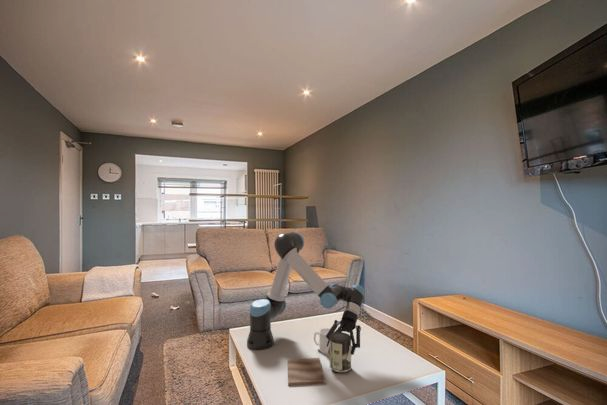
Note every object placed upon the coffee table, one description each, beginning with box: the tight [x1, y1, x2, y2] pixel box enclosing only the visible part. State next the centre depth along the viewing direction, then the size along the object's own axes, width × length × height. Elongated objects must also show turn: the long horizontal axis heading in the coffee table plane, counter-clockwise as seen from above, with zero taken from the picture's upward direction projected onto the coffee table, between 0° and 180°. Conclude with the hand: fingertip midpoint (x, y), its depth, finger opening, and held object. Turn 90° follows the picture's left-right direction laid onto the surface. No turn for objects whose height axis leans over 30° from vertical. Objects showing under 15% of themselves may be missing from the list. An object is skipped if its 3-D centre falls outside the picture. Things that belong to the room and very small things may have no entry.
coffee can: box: [329, 332, 352, 373], centre depth 139 cm, size 10×10×14 cm
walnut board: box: [286, 357, 326, 386], centre depth 137 cm, size 20×16×1 cm
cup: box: [313, 327, 336, 355], centre depth 159 cm, size 8×12×10 cm
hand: (337, 357), depth 137 cm, fingers closed on coffee can, 10 cm apart
